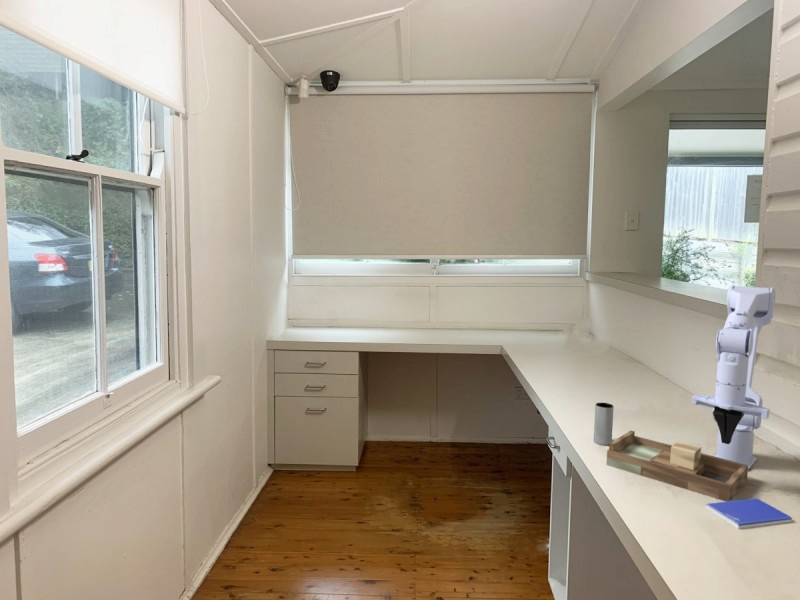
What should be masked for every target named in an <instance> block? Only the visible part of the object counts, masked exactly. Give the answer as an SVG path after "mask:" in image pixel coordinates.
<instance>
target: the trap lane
mask: <svg viewBox="0 0 800 600" xmlns="http://www.w3.org/2000/svg"><path fill="white" fill-rule="evenodd" d="M635 433H636V432H635V430H634V431H633V430H630V431H628V432H626V433H624V434H623V435H621V436H619V437H618V438H616V439H614V440H612V442H611V443H609V445H608V446H609V447H608V450H606V462H605V463H606V465H607V466H610V467H613V468H615V469H618V470H622V471H626V472H628V473H632V474H635V475H639V476H643V477H646V478H649V479H651V480H655V481H659V482H662V483H666V484H668V485H671V486H674V487H678V488H681V489H684V490H689V491H692V492H694V493H698V494H701V495H704V496H707V497H711V498H714V499H718V500H720V501H722V502H727V501H733V499H734V497H735V496H736V494H737V493H738V492H739V491H740V489H741V488H743V486H744V485H745V483H746V482H747V481H748V474H749V473H748V472H749V470H748V465H746V464H742V463H738V462H734V461H730V460H726V459H722V458H719V457H715V456H714V455H712V454H707V453H702V452H701V457H700V464H699V465H698V466H697V467H696V468H695V469H694V470H692V469H689V468H685V467H682V466H678V465H674V464H671V463H670V455H671V446H673V445H671V444H667V443H664V442H659V441H656V440H654V439H649V438H645V437H641V436H637V435H635Z"/></svg>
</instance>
